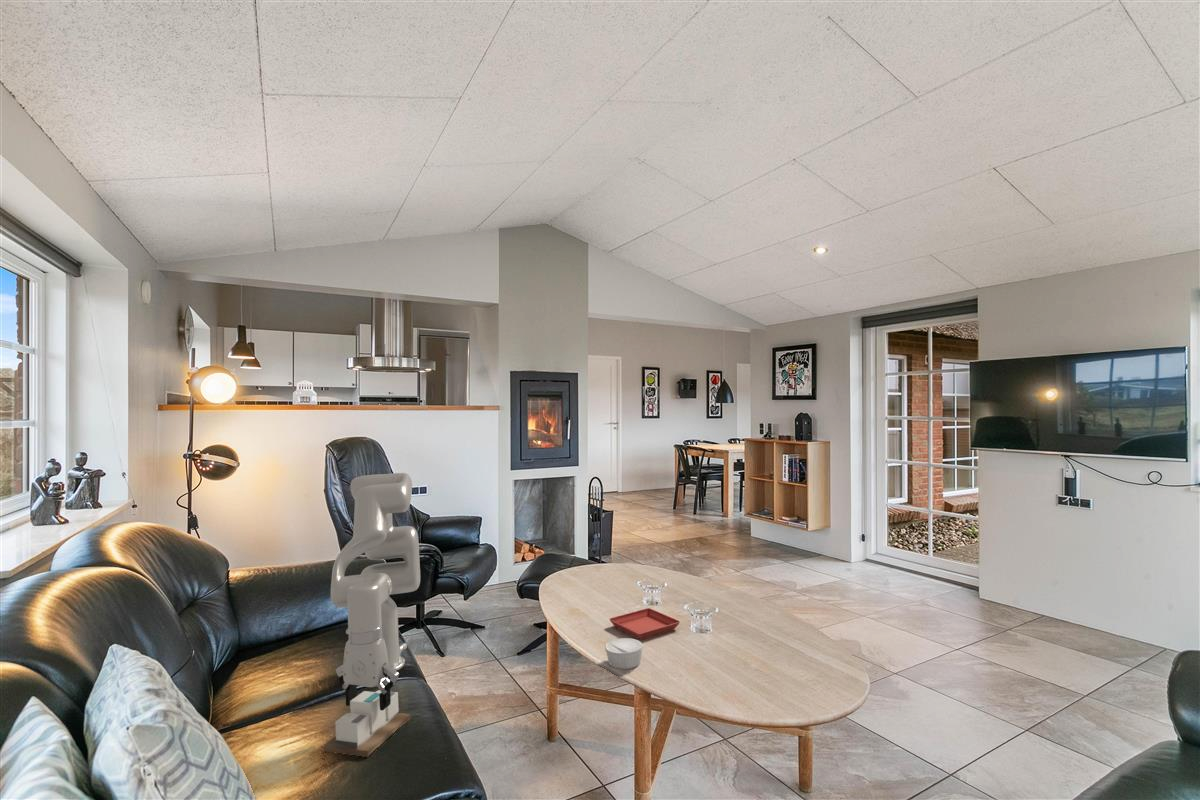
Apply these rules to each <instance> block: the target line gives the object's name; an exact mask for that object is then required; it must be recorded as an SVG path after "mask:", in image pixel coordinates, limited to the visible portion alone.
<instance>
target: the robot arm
mask: <svg viewBox="0 0 1200 800" xmlns="http://www.w3.org/2000/svg"><path fill="white" fill-rule="evenodd" d="M349 486H350V493H351V496H352V498H353V499H354V513H353V514H354V515H353V529H352V530H353V532H352V537H351V539H350V540H349V541H348V542H347V543H346V544H345V545H344V547H343V548H342V549H341V550H340V552H339V553H338V554H337V556H336V558H335V560H334V563H333V566H332V571H331V581H330V582H331V583H330V600H331V603H332V605H334V606H335V607H337V608H347V625H348V626H347V628H346V630H345V633H346V635H348V639H347V641H346V642H345V646H344V653H343V660H342V661H343V663H342V664H341V665H339V666H338V667H337V668H335V672H336V675H337V676H338V680H339V681H340V683H341V685H342V689H343V690H344V691H345V693H344V694H345V706H347V707H349V706H350V701H351V700H352V699H354V698H355V697H356V696H358V694H357V693H358V690H357V689H358V688H357V687H358V686H359V687H365V688H366V687H367V688H375V687H377V688H378V690H380V691H381V692H382V693H380V695H379V700H380V710H384V709H385V708H387V707H388V706H389V705H390V703H391V694H390V692H391V690H392V689H393V687H394V686H395V685H396V684H397V680H398V678H399V676H400V673H399V670H400V669H402V668H403V667H404V665H405V663H406V659H405V657H403V656H402V652H403V651H404V650H405V651H406V649H407V648H408V644H407V643H405V642H403V643H402V644H400V643H399V617H398V616H399V615H398V607H397V604H396V602H395V601H394V600H393V598H391V597H390V595H398V594H405V593H412V592H415V591H417V590H418V589H419V587H420V584H421V567H420V566H421V564H420V563H421V562H420V544H419V541H420V540H419V534H418V532H417V530H416V528H415V527H414V526H411V525H402V526H394V523H393V514H399V513H405V512H407V511H408V510H409V508H410V504H411V501H412V493H413V481H412V478H411V476H410V475H409V474H408V473H405V472H397V473H396V472H395V473H381V474H380V473H378V474H377V473H376V474H367V475H361V476H357V477H355V478H353V479H352V480H351V482H350V485H349ZM363 554H364V555H365V557H366V558H367V559H369V560H372V561H379V560H391V559H398V558H402V559H403V560H402V561H393V562H382V563H376V564H371V565H368V566H366V567H365V568H363V570H362V571H361V573H360V574H353V575H345V573H346V570H347V568H348V566H349V565H350V564H351V562H352V561H354V560H355V559H356V558H358V557H360V556H361V555H363ZM389 678H390V679H389Z"/></svg>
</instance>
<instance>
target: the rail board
mask: <svg viewBox="0 0 1200 800" xmlns="http://www.w3.org/2000/svg"><path fill="white" fill-rule="evenodd" d="M409 720H410V721H411V714H410V713H404V712H403V713H402V712H400V711H399V712H398V713H396V714H395V715H394V716H393V717H392V718H390V719H389V720H386V722H385V723H384V724H383V725H382V726H381V727H379V728H378V729H377V730H376V731H375V732H373V733H370V736H369V737H368V738H367V739H365V740H364V741H363V742H362V743H361V744H359V745H358V746H357V743H354V742H347V741H339V740H336V735H335V736H333V737H332V738H330V740H328V741H327V742H326V743H325V744H323V751H326V753H331V752H334V753H333V754H338V753H345V754H355V755H363V756H369V755H370V754H371V753H372V752H373V751H374V750H375V749H376V748H377V747H379V746H380V745H381V744H382V743H383V742H384V741H385V740H386V739H387V738H388V737H389V736H390V735H391V734H392V733H394V732H395V731H396V730H397V729H398V728H399V727H401V726H402V725H403V724H405V723H406V722H407V721H409ZM410 721H409V722H410ZM335 752H336V753H335Z"/></svg>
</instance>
